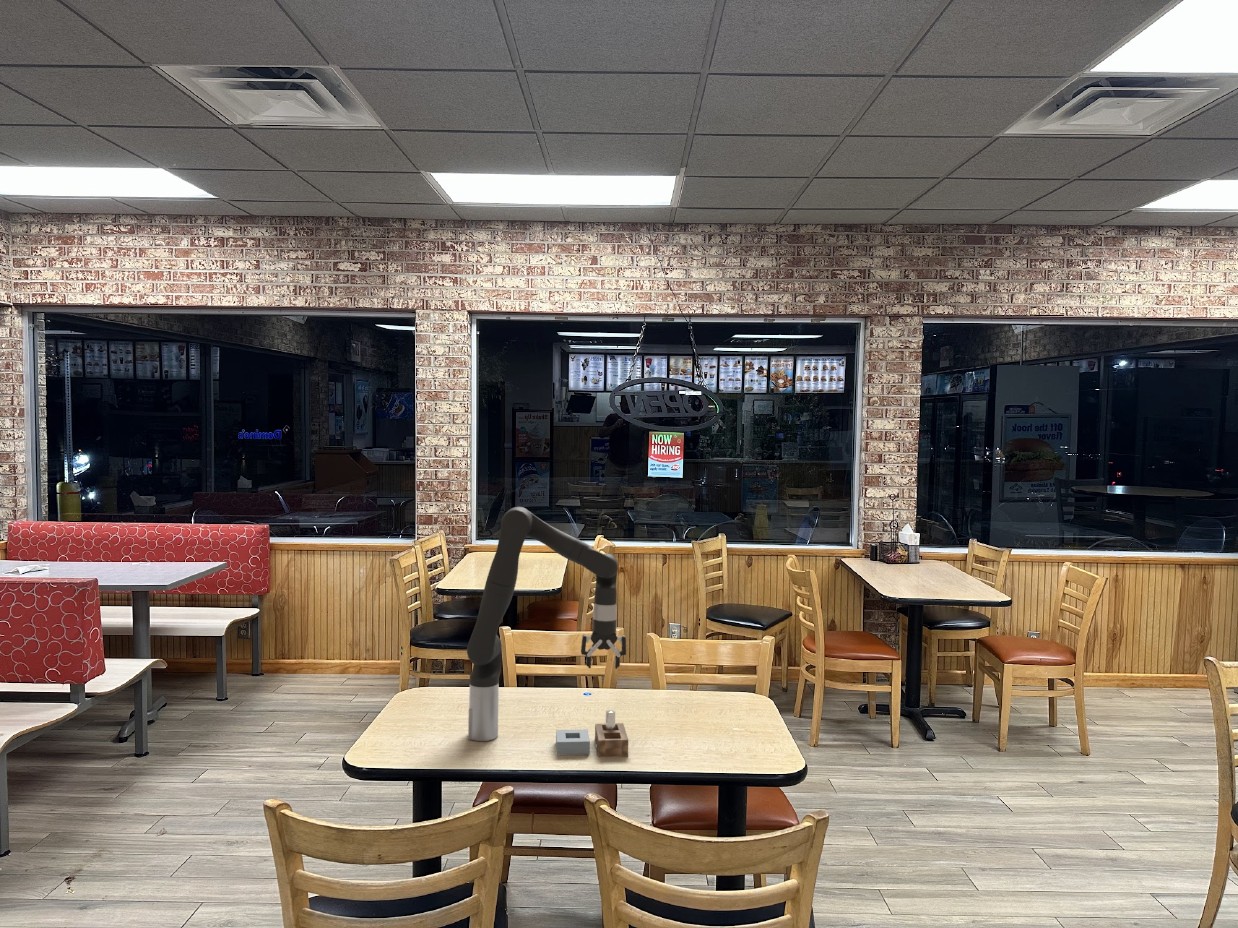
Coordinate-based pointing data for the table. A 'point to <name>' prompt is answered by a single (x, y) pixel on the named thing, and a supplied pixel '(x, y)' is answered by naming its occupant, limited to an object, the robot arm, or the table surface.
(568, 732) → the socket block
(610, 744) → the walnut rack
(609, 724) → the steel rod
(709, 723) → the table surface
